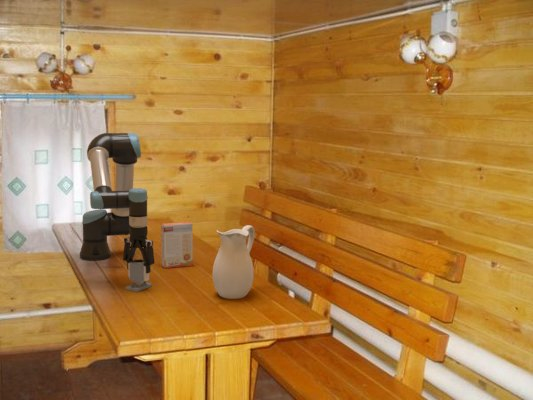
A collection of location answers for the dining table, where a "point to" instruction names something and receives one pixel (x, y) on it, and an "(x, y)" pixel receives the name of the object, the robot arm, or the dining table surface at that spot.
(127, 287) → the shaft stand
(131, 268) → the tube
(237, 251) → the pitcher
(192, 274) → the dining table surface
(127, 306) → the dining table surface
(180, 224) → the cracker box
